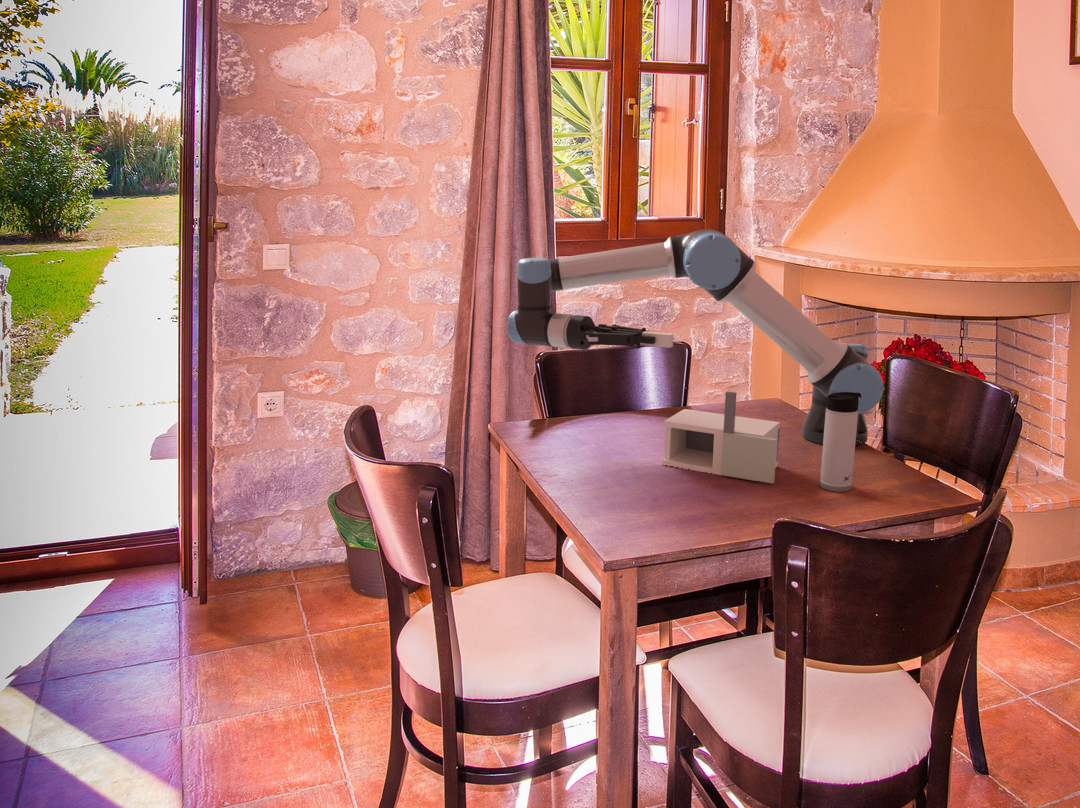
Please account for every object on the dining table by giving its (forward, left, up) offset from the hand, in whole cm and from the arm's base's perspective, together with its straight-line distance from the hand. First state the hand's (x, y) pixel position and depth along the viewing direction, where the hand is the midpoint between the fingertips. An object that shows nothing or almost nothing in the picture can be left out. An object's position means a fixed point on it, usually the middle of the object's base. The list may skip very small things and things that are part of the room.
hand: (671, 340), depth 210 cm
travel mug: (-33, +13, -28) cm, 45 cm away
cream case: (-12, -1, -28) cm, 30 cm away
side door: (-16, +9, -27) cm, 33 cm away
